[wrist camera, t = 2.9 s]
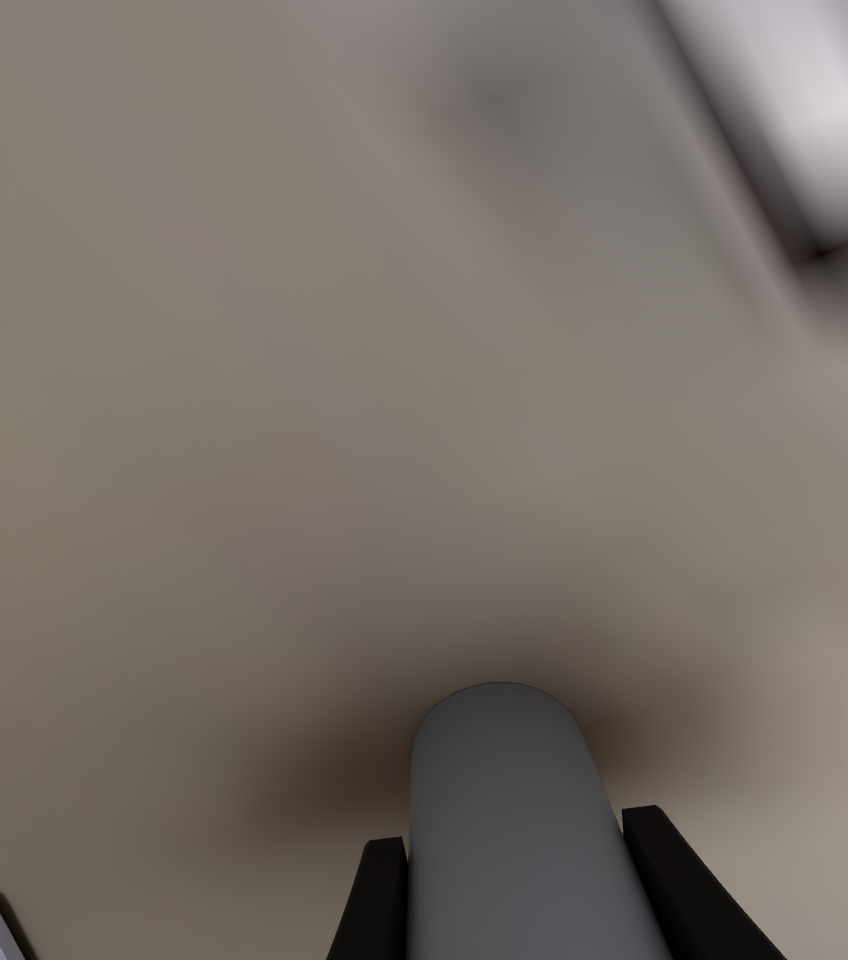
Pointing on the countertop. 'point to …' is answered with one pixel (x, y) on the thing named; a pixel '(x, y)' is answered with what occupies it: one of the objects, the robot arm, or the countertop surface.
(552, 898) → the peg
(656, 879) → the robot arm
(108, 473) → the countertop surface
